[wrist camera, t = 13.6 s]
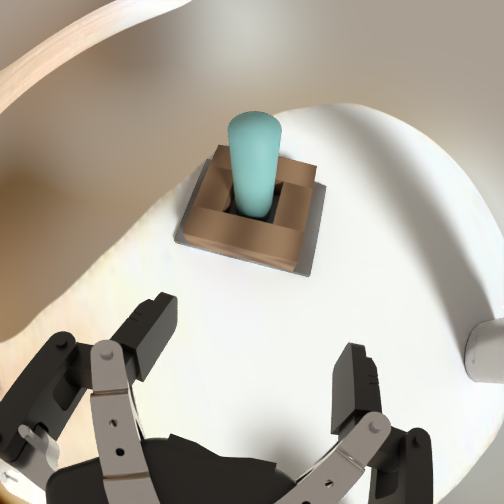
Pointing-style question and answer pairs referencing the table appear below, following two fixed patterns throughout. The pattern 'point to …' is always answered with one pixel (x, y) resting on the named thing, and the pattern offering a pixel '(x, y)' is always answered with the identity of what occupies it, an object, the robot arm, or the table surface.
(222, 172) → the socket
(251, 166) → the peg
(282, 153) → the table surface
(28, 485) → the white toy figurine
